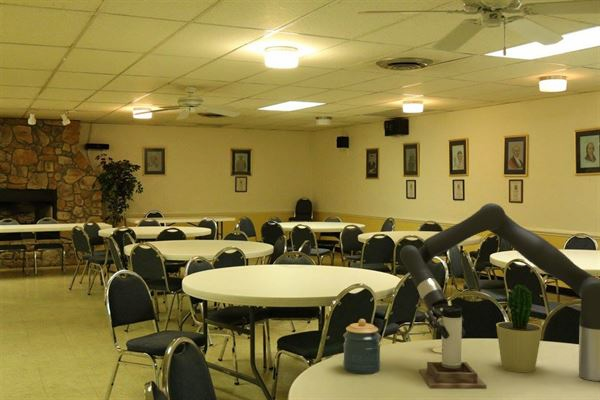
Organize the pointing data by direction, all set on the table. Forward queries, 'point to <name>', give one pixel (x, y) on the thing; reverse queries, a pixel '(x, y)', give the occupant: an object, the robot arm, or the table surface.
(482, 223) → the robot arm
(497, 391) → the table surface
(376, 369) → the canister
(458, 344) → the travel mug
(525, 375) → the table surface
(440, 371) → the square wooden tray
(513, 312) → the potted cactus
